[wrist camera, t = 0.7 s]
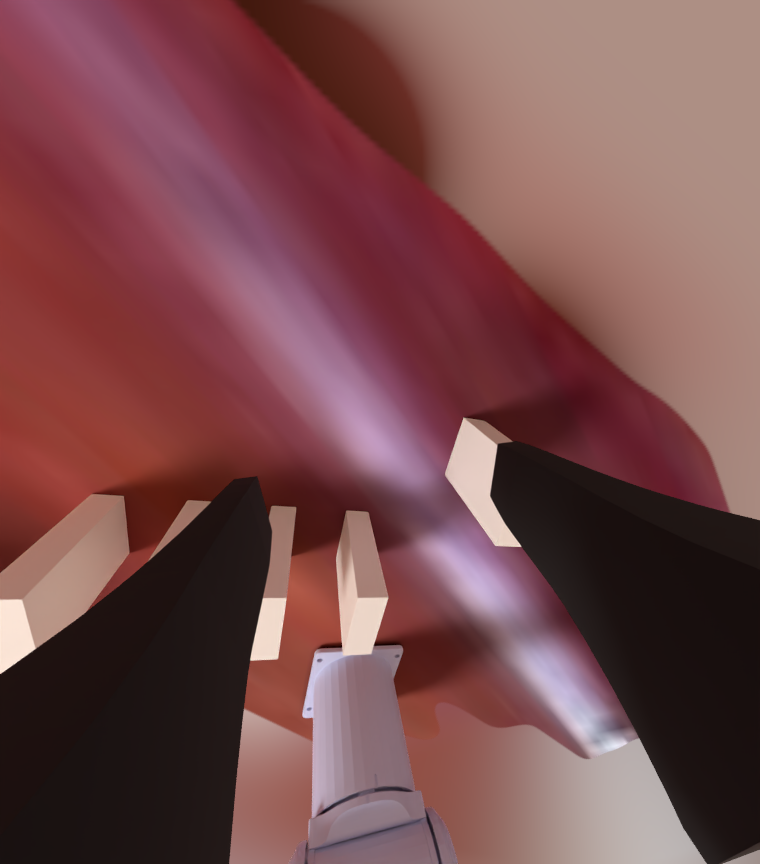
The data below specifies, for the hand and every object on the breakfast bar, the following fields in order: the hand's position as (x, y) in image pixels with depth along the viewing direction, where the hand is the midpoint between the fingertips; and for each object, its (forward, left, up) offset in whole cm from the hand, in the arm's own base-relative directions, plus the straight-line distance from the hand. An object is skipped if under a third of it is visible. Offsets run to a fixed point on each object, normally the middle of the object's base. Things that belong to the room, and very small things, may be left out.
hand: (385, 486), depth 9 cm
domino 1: (-11, +13, -10) cm, 20 cm away
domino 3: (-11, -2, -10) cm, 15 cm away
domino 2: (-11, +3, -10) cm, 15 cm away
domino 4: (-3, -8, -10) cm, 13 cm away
